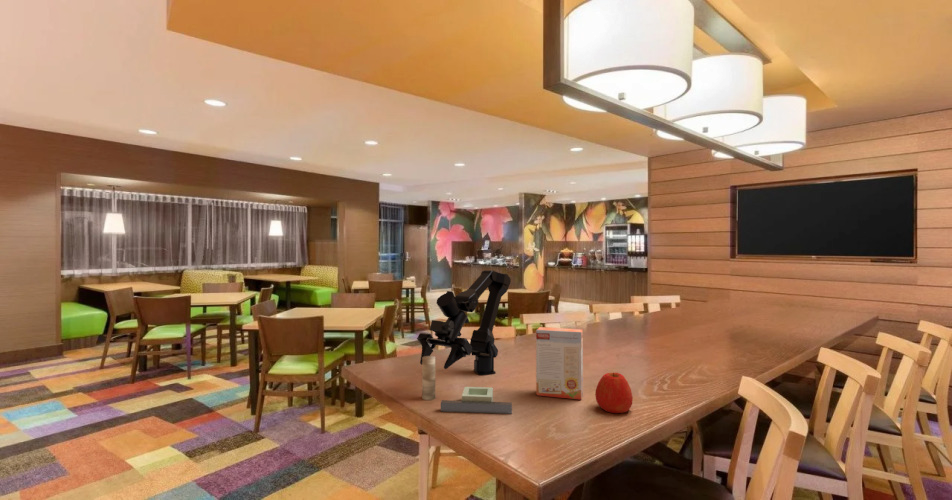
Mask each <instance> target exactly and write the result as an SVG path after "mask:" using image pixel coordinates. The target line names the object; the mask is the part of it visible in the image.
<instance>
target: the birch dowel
mask: <svg viewBox="0 0 952 500" xmlns="http://www.w3.org/2000/svg"><path fill="white" fill-rule="evenodd" d="M421 367H422V369H421V371H422V373H421V375H422V378H421V380H422V381H421V383H422V385H421V387H422V388H421V398H422V400H423V401H433V400H435V399H436V356H434V355H430V356H424V357H422V365H421Z"/></svg>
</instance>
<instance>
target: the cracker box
mask: <svg viewBox="0 0 952 500" xmlns="http://www.w3.org/2000/svg"><path fill="white" fill-rule="evenodd" d="M583 330H584V329H583V328H567V327H566V328H565V327H544V326H539V327H538V328H537V329H536V330H535V331H536V333H535V336H536V341H535V343H536V344H535V346H536V349H535V350H536V351H535V353H536V354H535V356H536V357H535V364H536V366H535V367H536V369H535V372H536V373H535V374H536V375H535V384H536V385H535V389H536V391H535V393H536V395H537V396H541V397H542V396H543V397H550V398H559V399H561V398H562V399H569V400H579V401H580V400H582V399H583V395H584V362H583V361H584V345H583V344H584V341H583V340H584V339H583V337H584V335H583V333H584V332H583Z"/></svg>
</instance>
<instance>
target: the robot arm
mask: <svg viewBox="0 0 952 500" xmlns="http://www.w3.org/2000/svg"><path fill="white" fill-rule="evenodd" d="M511 280H512V279H511V277H510V276H509V274H507V273H501V272H497V271H495V270H493V269H492V270H490V269H489V270H488V269H485V270H482V271H481V273H480V275H479V276H478V277H477V279H475V281H473V283H472V284H471V285H470V286H469V288H468V289H466V290H464V291H460V292H459V293H458V294H457V295H455V293H454V292H453V290H447V291H446V292H445V293H444V294H442V295H440V296H438V298H437V299H436V304H437V306H438V308H439V310H440V311H441V312H442V314H443V316H445V317H447V319H446V321H443V320H436V319H435V320H434V319H433V320H431V323H430V327H429V331H430V332H431V331H432V332H434V336H435V337H437V338H434V336H433V335H432V334H431V333H427V332H420V333H419V334H418V336H417V337H416V340H417V341H418V342H419V344H420V345H421V354H420V359H419V360H420V361H419V364H420V365H421V366H422V357H424V356H432V354H433V352H434V350H433V349H435V348H436V346H441V347H446V348H450V352H449V354H448V356H447V357H446V361H445V362H444V365H443V369H445V370H447V369H448V368H450V367H451V366H452V365H453V364H455V363H456V362H458V361H459V360H461V359H463V358H466V357H467V356H474V358H475V359H474V360H473V372H475V373H476V374H478V375H480V376H482V375H492V374H493V375H494V374H496V371H495V367H494V366H495V360H494V359H495V358H497V356H498V354H499V350H498V348H497V346H496V344H495V337H494V332H493V331H494V328H495V322H496V319H497V315H498V312H499V309H500V304H501V300H502V297H503V296H504V295H505V294H506V293H507V292H508V290H509V289H510V288H509V287H510V286H511ZM487 289H488V292H489V293H488V296H487V300H486V304H485V307H484V311H483V313H482V318H481V320H480V321H481V322H480V325H479V327H478V329H476V330H475V329H474V330H473V331H472V334H471V338H470V341H469V340H468V338H465V337H461V336H462V333H461V330H462V328H463V327H464V325H465V324H469V323H470V320H469V318H468V317H469V316H468V315H467V314H466V313H473V312H474V311H475V310H476V309H477V307H478V305H479V299H480V297H481V296H482V295H483V294H484V292H485V291H486V290H487Z"/></svg>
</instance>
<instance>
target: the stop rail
mask: <svg viewBox="0 0 952 500" xmlns="http://www.w3.org/2000/svg"><path fill="white" fill-rule="evenodd" d="M512 404H513V403H512V402H511V401H510V402H508V401H507V402H506V401H493V402H483V401H462V400H450V399H449V400H448V399H447V400H445V399H443V400H440V412H445V413H453V412H454V413H473V414H474V413H475V414H501V415H503V414H505V415H506V414H508V415H512V414H513V407H512V406H513V405H512Z"/></svg>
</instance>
